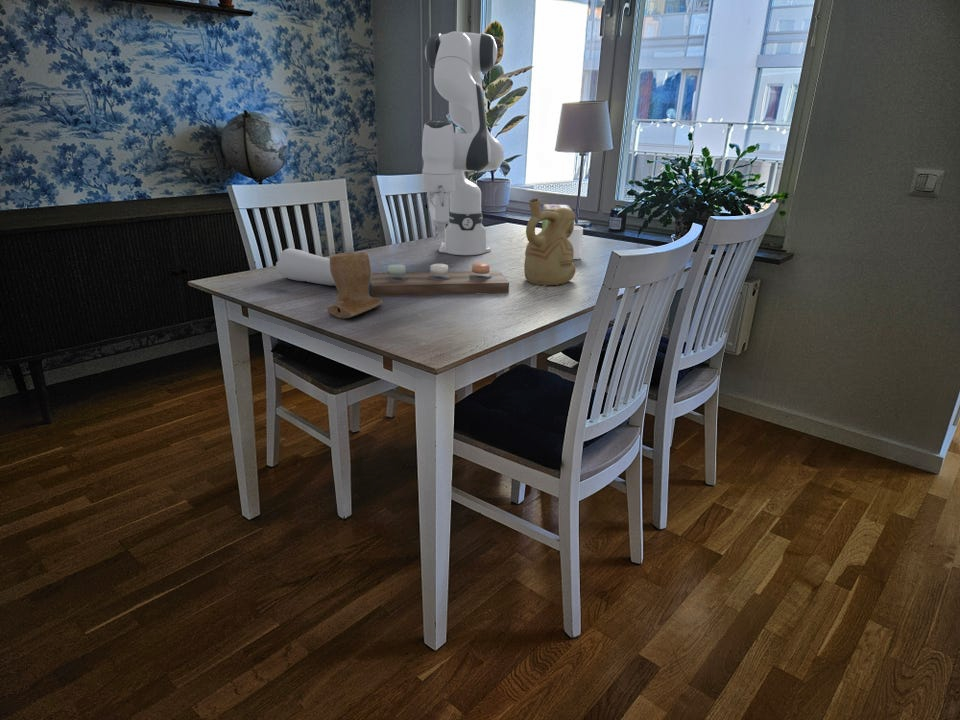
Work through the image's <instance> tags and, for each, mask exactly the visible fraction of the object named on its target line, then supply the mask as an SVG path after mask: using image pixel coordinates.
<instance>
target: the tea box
mask: <svg viewBox="0 0 960 720" xmlns="http://www.w3.org/2000/svg"><path fill="white" fill-rule="evenodd" d="M542 206H543V207H542V212H544V211H551V212H554V211H555V210H557V209H559V208H567V209H569V210H571V211H572V212H573V209H572V208H571V207H570V205H568V204H548V203H547V204H546V203H544V204H543V205H542ZM547 222H548V220H547V219H546V220H542V221H541V231H542V230H543V229H544V228H545V227H546V225H547Z"/></svg>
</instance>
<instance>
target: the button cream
mask: <svg viewBox="0 0 960 720" xmlns="http://www.w3.org/2000/svg"><path fill="white" fill-rule="evenodd" d="M430 272H431V274H435V275H444V274H447V273H448V272H449V265H448V264H446V263H445V264H444V263H433V264H431V265H430Z"/></svg>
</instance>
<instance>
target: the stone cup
mask: <svg viewBox="0 0 960 720" xmlns="http://www.w3.org/2000/svg"><path fill="white" fill-rule="evenodd" d="M329 259H330V271H331V274H332V277H333V279H334V282H335V285H336V286H335V288H336V290H337V293H338V294H337V295H338V299H337V301H335V302H334V303H333V304H331V305H329V306H327V307H326V310H327V311H328V312H329V313H330V314H331V315H333V316H334V317H336V318H338V319H350V318H353V317H355V316H358V315H360V314H363V313H366V312H369V311H370V310H373V309H374V308H377V307H379V306H381V305H382V304H383V303H384V301H383V300H382V299H380V298H376V297H374V296H370V293H369V289H370V284H369V282H371V280H370V278H372V273H371V271H372V270H371V262H370V257H369V255H368V253H367V252H365V251H359V252H358V251H352V252H340V253H334V254H332V255H330V257H329Z"/></svg>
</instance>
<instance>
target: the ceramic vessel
mask: <svg viewBox="0 0 960 720" xmlns="http://www.w3.org/2000/svg"><path fill="white" fill-rule="evenodd" d="M540 202H541V200H540V199H539V198H532V199H529V200H528V204H529V209H530V218H529V220H528V221H527V224H526V227H525V228H526V229H525V236H526V239H527V241H528V243H527V245H526V247H525V252H524V255H525V256H524V257H525V258H524V265H523V267H524V268H523V269H524V272H523V273H524V277H525V279H526V281H528V283H531V284H533V285H536V284H538V285H537V286H542V285H556V286H560V285H559V284H562V285H565V284H567V283H569V280H570V281H571V280H572V279H573V278H574V276H575V274H576V270H577V269H576V266H575V264H574V263H573V261H574V260H573V255H574V251H573V246H572V244H571V243H570V242H569V241H568V239H567V238H568V237H570V235H571V234H572V232H573V229H574V226H575V220H576V214H575V212H573V210H572V211H571V210H569V209H567V208H559V209H557V210H555V211H554V212H551V211H544V212H543V211H541V203H540ZM546 219H547V220H548V222H547V225H546V227H545V228H544V229H543V230H542V229H541V231H540V232H538V233H537V234H536V226H537V225H538V223H540V222H542V220H546ZM564 283H565V284H564Z"/></svg>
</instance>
